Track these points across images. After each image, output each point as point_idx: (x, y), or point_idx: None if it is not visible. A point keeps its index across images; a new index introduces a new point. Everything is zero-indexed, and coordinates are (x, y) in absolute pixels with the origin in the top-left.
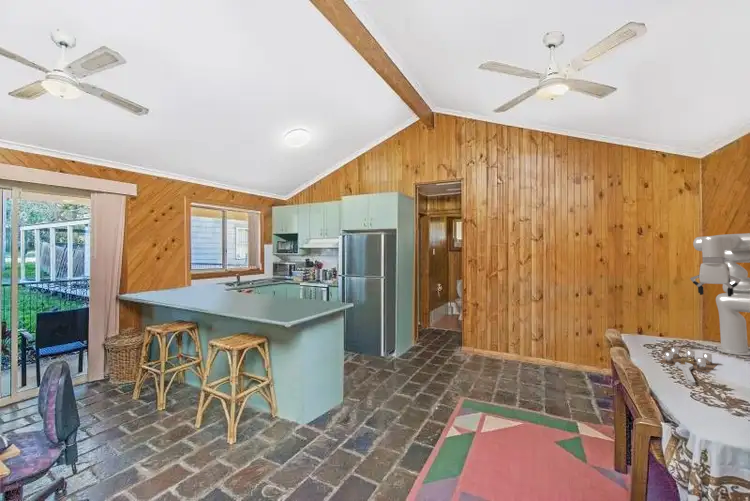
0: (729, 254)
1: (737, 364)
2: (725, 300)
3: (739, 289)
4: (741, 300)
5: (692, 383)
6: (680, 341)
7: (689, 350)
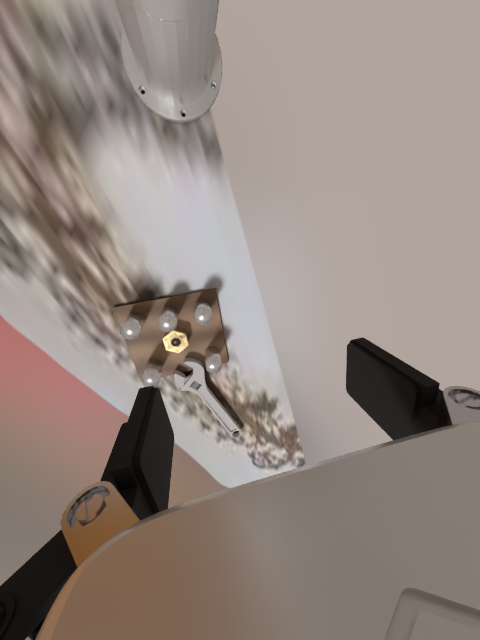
0: None
1: (234, 240)
2: None
3: None
4: None
5: (239, 434)
6: None
7: (163, 320)
